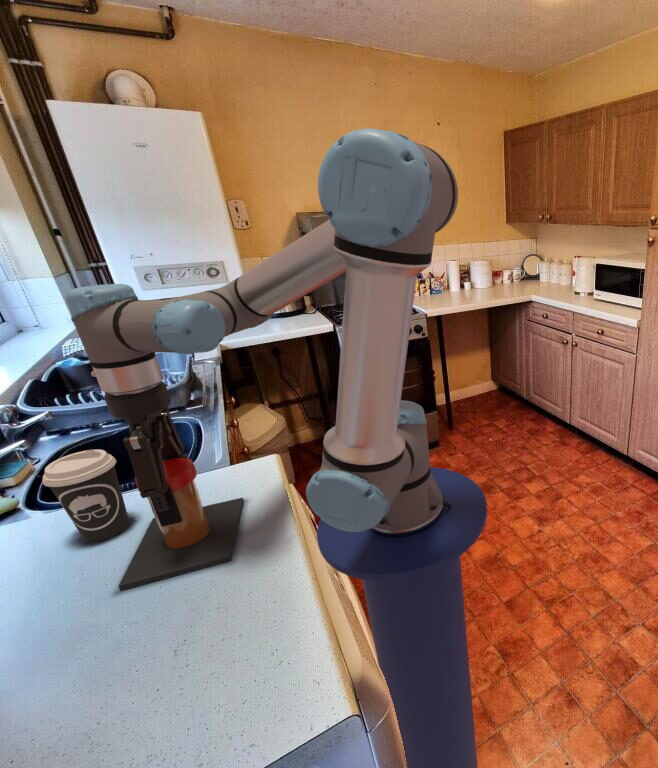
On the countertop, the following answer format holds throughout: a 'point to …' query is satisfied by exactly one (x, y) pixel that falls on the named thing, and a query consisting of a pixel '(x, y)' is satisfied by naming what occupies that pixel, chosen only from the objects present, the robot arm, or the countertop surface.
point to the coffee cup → (89, 493)
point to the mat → (185, 548)
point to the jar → (185, 519)
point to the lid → (178, 473)
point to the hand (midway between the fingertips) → (178, 507)
